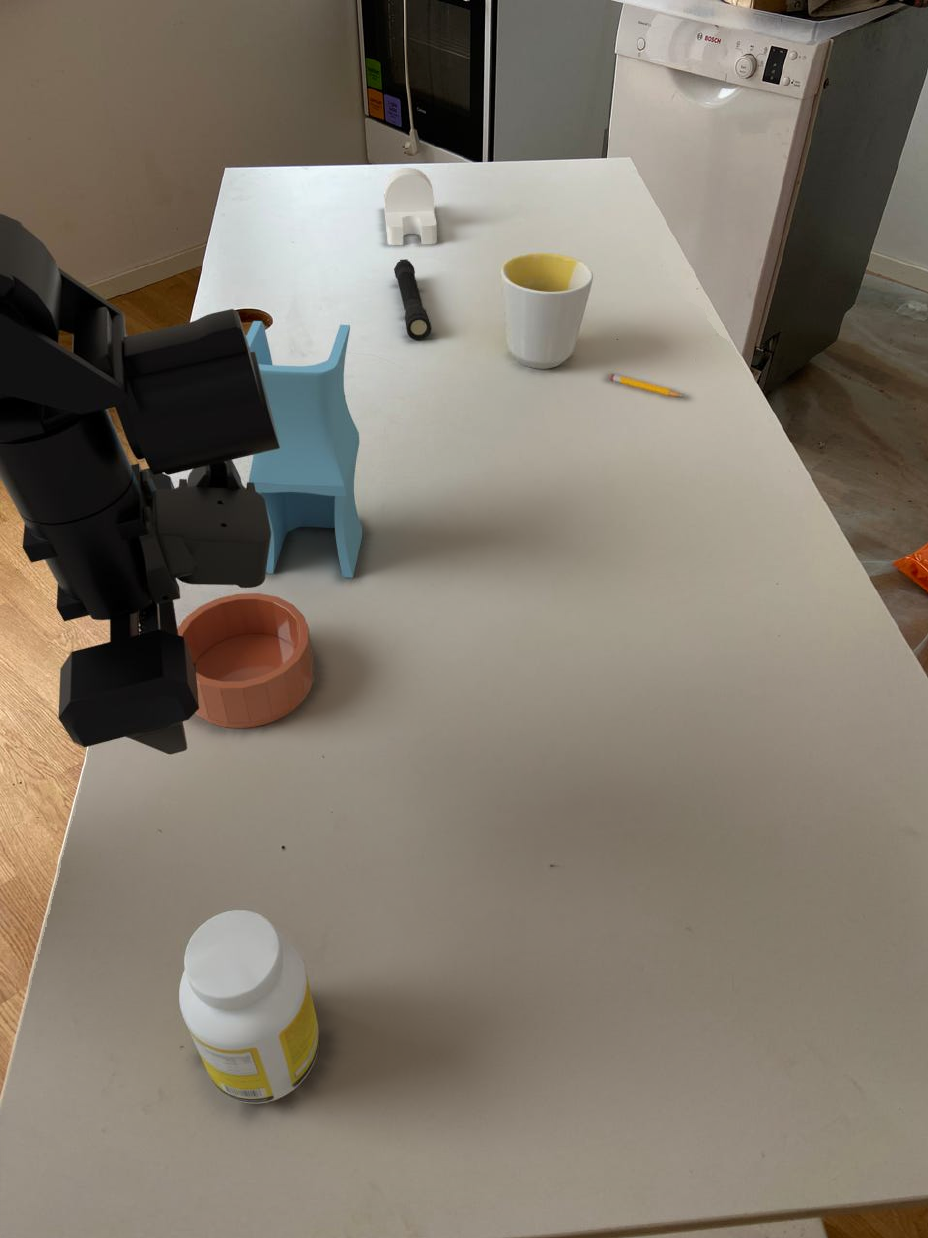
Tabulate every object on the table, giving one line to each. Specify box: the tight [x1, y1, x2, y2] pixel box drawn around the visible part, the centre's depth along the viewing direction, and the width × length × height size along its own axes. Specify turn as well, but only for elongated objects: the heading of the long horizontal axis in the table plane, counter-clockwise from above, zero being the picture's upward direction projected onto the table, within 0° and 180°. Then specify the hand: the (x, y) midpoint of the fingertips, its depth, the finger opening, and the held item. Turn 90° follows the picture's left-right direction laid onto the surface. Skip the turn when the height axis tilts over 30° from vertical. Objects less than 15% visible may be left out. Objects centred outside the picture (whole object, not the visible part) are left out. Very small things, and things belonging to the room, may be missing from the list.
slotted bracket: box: [383, 167, 438, 246], centre depth 139 cm, size 13×7×8 cm, turn 6°
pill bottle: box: [178, 909, 320, 1105], centre depth 52 cm, size 6×6×12 cm
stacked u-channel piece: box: [246, 320, 363, 579], centre depth 81 cm, size 8×8×20 cm
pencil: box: [609, 373, 684, 398], centre depth 109 cm, size 1×8×1 cm, turn 62°
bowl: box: [177, 592, 315, 729], centre depth 75 cm, size 10×10×4 cm
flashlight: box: [393, 258, 433, 342], centre depth 122 cm, size 3×16×3 cm, turn 9°
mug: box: [500, 252, 594, 370], centre depth 112 cm, size 14×10×10 cm
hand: (174, 692), depth 59 cm, fingers open, 9 cm apart
